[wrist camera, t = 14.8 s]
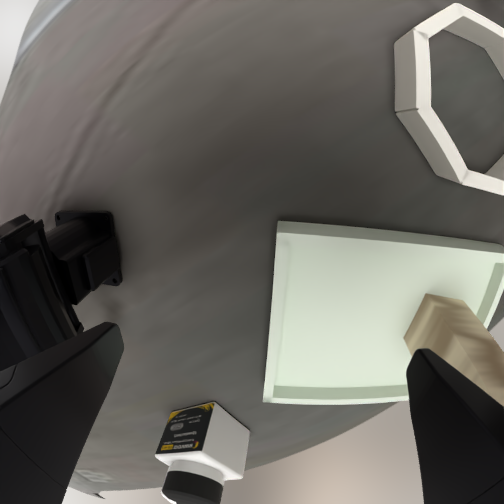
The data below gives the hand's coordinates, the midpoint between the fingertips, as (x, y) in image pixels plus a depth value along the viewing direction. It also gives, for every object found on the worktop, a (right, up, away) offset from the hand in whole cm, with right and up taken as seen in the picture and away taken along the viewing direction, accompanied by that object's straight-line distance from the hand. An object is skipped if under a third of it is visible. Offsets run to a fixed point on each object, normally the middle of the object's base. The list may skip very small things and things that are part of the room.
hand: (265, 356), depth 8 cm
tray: (+11, -3, +14) cm, 18 cm away
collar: (+16, +14, +6) cm, 22 cm away
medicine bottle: (-5, -17, +22) cm, 29 cm away
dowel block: (+15, -3, +12) cm, 20 cm away
